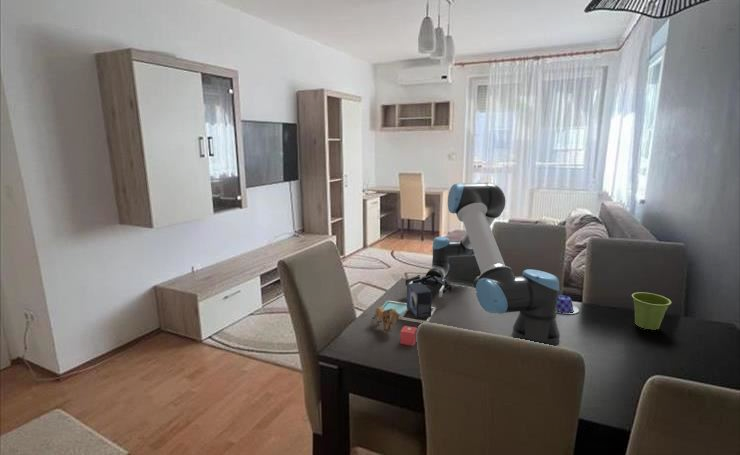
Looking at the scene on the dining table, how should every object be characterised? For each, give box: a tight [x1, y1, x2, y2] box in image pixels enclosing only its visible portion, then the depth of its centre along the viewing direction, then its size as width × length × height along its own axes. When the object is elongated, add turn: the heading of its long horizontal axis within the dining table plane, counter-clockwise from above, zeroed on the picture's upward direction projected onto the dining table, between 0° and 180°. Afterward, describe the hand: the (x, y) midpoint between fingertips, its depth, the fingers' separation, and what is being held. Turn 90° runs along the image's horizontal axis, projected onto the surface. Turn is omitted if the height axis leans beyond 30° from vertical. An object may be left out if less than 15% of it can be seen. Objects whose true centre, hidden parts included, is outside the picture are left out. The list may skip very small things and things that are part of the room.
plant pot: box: [631, 291, 672, 330], centre depth 148 cm, size 12×12×11 cm
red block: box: [400, 325, 418, 347], centre depth 138 cm, size 4×4×5 cm
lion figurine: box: [372, 306, 400, 333], centre depth 148 cm, size 15×5×9 cm, turn 35°
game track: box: [381, 300, 436, 324], centre depth 162 cm, size 21×14×1 cm
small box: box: [406, 282, 433, 319], centre depth 159 cm, size 11×6×10 cm, turn 17°
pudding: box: [557, 294, 580, 315], centre depth 165 cm, size 12×12×5 cm
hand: (423, 291), depth 166 cm, fingers open, 13 cm apart
